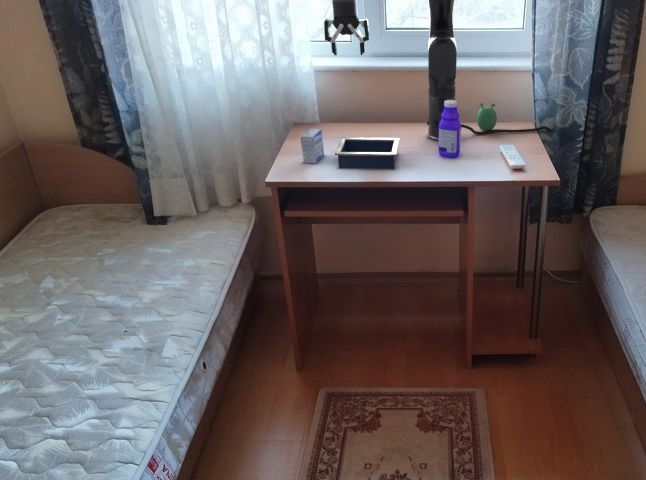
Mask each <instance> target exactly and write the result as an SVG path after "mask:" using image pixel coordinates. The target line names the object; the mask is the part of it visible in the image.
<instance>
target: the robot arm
mask: <svg viewBox="0 0 646 480" xmlns="http://www.w3.org/2000/svg"><path fill="white" fill-rule="evenodd" d="M331 1H332V14H333V19H328V18H326V19H325V20H324V21H323V26H324V27H323V29H324V41H325V42H330V44H331V45H330V46H331V53H332V54H333V56H338V47H337V46H338V45H337V41H336V40H337V38H338V36H339V35H341V36H345V35H348V36H352V35H354V36H355V38H357V39H358V41H359V55H360V56H363V55H364V54H365V52H366V44H365V43H366V42H367V41H369V40H371V39H370V38H371V33H370V26H369V19H368V18H364V19H360V18H359V15H358V2H357V1H358V0H331ZM427 3H428V9H429V34H428V35H429V36H428V46H427V51H428V52H427V54H428V56H427V60H428V61H427V64H428V65H427V67H428V69H427V71H428V74H427V76H428V77H427V83H428V84H427V85H428V88H427V91H428V92H427V93H428V94H427V95H428V96H427V97H428V98H427V99H428V101H427V102H428V106H427V107H428V109H427V111H428V112H427V114H428V115H427V117H428V119H427V121H426V126H427V127H428V129H427V130H428V133H427V136H428V137H427V138H429V139H431V140H433V141H439V124H440V121H441V119H442V116H441V115H442V113H443V110H444V101H446V100H455V101H456V89H457V87H456V85H457V65H458V63H457V61H458V49H457V43H456V39H455V31H454V19H453V16H454V13H453V12H454V4H455V0H427ZM332 25H333V27H334V28H335V29H336V30H335V32H334V33H333V35H332V36H331V35H330V28H332ZM359 25H361V27H362V28H363V30H364V36H363V34H362V33H361V31H360V30H359V29H358V28H359ZM548 127H549V126H547V127H546V125H542V126H539V127H535V128H522V129H521V128H519V129H504V128H498V129H497V128H493V129H492V130H488V131H483V130H482V131H478V130H477V131H476V130H475V129H474V128H473V127H471V126H469V125H467V124H462V123H461V128H463V129H466V130H469V131H471V132H472V133H473V134H474V135H479V136H480V135H487V134H492V133H512V134H513V133H529V132H538V131H540V130H547V131H548V132H550V131H552V129H551V128H550V127H549V128H548Z"/></svg>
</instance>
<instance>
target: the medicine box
mask: <svg viewBox="0 0 646 480" xmlns="http://www.w3.org/2000/svg"><path fill="white" fill-rule="evenodd" d="M300 147H301V153H302V159H303V160H302V161H303V164H315V165H317V164H318V163H319V161H320V160H321V159H322V158H323V157H324V156H325V148H324V140H323V130H322V129H320V128H309V129H308V130H307V131H305V132H304V133H303V134H302V135H301V136H300Z"/></svg>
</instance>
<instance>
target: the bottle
mask: <svg viewBox="0 0 646 480" xmlns="http://www.w3.org/2000/svg"><path fill="white" fill-rule="evenodd" d="M441 116H442V119H441V121H440V124H439V140H438V144H437V145H438V147H437V148H438V149H437V151H438V155H439V156H440V157H443V158H448V159H456V158H458V157H459V155H460V153H461V148H462V147H461V146H462V127H461V124H462V123H461V121H460V113H459V111H458V101H457V100H456V99H455V100H446V101H444V110H443V113H442V115H441Z"/></svg>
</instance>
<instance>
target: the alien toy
mask: <svg viewBox="0 0 646 480" xmlns="http://www.w3.org/2000/svg"><path fill="white" fill-rule="evenodd" d="M484 104H485V103H484V102H482V101H481V102H480V103H479V104H478V106H480V107H481V108H480V109H479V110H478V113H477V116H476V122H477V126H478V128H479V130H481V131H482V132H483V131H488V130H494V129H495V127H496V125H497V120H498V116H497V112H496V110H495V109H494V107H496V103H495V102H492V103H491V104H490V105H491V106H484Z"/></svg>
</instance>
